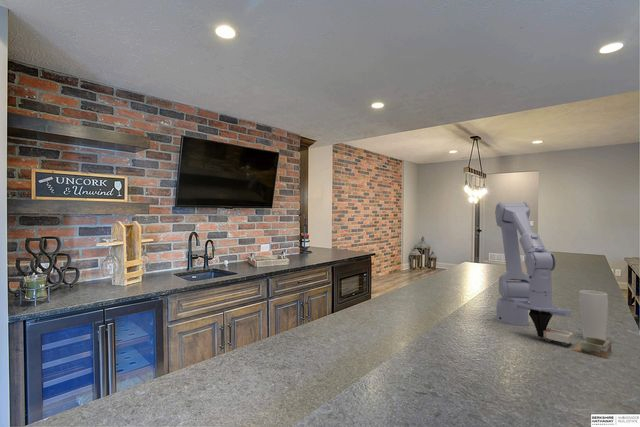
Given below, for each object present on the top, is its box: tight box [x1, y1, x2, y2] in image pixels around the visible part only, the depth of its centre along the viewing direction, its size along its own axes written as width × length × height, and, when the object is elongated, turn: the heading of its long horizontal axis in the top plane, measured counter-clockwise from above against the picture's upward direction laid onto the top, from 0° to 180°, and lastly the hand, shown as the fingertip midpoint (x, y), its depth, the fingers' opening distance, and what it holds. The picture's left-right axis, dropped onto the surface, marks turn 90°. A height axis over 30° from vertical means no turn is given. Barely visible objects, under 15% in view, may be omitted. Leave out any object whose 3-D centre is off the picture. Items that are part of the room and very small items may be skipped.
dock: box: [571, 336, 612, 359], centre depth 93 cm, size 19×12×4 cm, turn 40°
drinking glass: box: [578, 289, 609, 340], centre depth 98 cm, size 7×7×15 cm
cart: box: [543, 327, 574, 347], centre depth 94 cm, size 6×5×3 cm
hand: (541, 336), depth 98 cm, fingers closed
